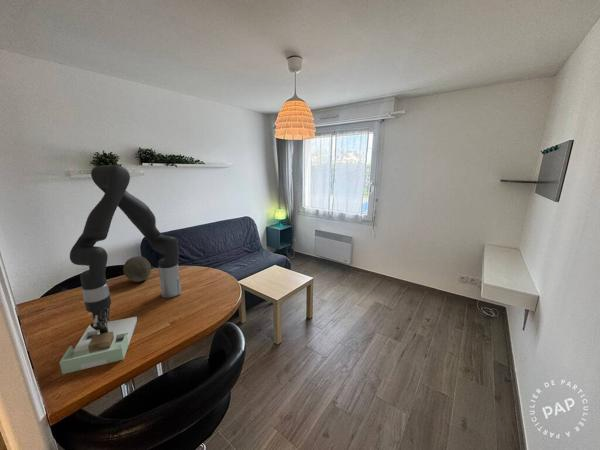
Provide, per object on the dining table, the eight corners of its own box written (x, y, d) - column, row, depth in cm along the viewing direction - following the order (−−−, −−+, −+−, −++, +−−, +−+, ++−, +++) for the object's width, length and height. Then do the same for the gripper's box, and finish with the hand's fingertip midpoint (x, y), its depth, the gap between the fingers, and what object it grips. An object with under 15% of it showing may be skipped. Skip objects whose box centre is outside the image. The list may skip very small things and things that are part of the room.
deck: (137, 320, 107) (135, 310, 106) (123, 359, 86) (121, 347, 85) (89, 329, 100) (87, 319, 99) (62, 374, 79) (59, 362, 78)
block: (114, 337, 93) (112, 331, 93) (109, 348, 88) (108, 341, 87) (95, 341, 91) (93, 335, 90) (89, 352, 86) (87, 346, 85)
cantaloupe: (157, 275, 150) (154, 253, 146) (144, 286, 136) (140, 262, 132) (134, 275, 149) (131, 253, 145) (118, 286, 135) (114, 262, 131)
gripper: (103, 303, 85) (111, 343, 89) (114, 286, 96) (120, 322, 101) (76, 307, 82) (85, 349, 86) (91, 289, 93) (98, 326, 98)
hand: (104, 334), depth 93 cm, fingers closed
